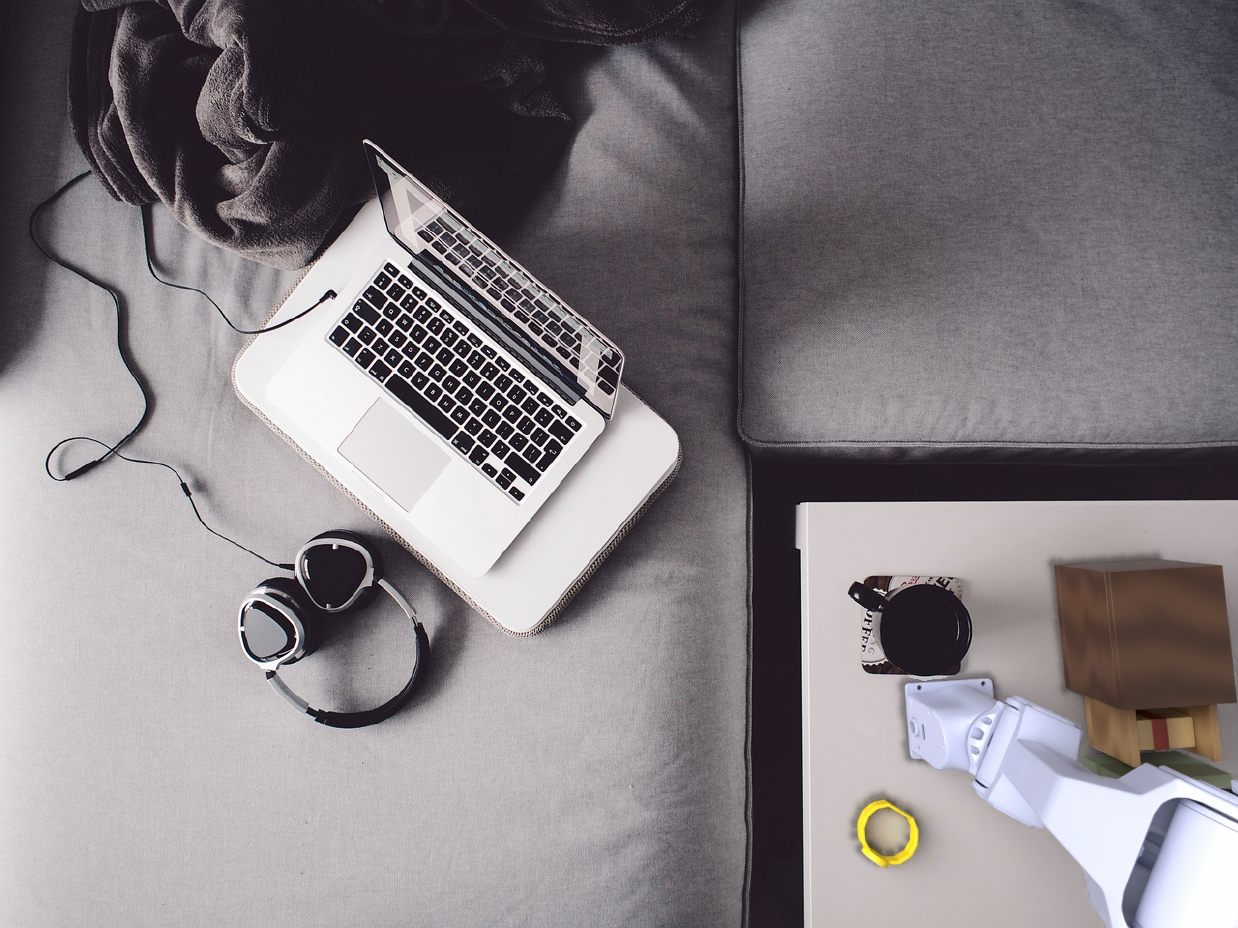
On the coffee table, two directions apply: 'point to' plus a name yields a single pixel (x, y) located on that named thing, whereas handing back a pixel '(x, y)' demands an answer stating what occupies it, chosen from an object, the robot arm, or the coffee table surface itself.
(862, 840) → the yellow rubber band ring
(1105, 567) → the cabinet
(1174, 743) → the tan red striped block
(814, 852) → the coffee table surface
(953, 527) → the coffee table surface
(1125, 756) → the pullout
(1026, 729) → the robot arm
